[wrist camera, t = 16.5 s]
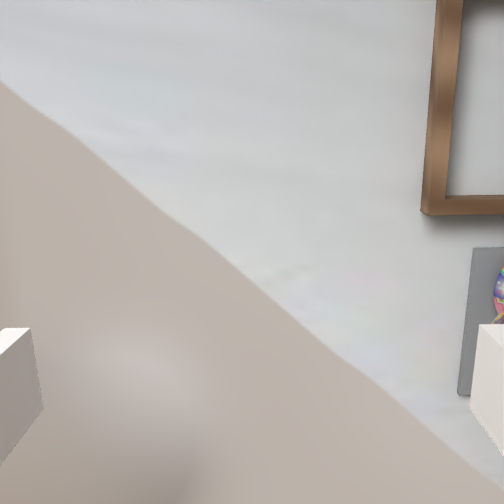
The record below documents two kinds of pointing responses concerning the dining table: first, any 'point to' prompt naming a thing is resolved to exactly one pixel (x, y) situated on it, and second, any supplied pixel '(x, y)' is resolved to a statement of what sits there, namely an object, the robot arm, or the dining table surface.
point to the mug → (499, 297)
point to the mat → (478, 308)
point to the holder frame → (447, 122)
